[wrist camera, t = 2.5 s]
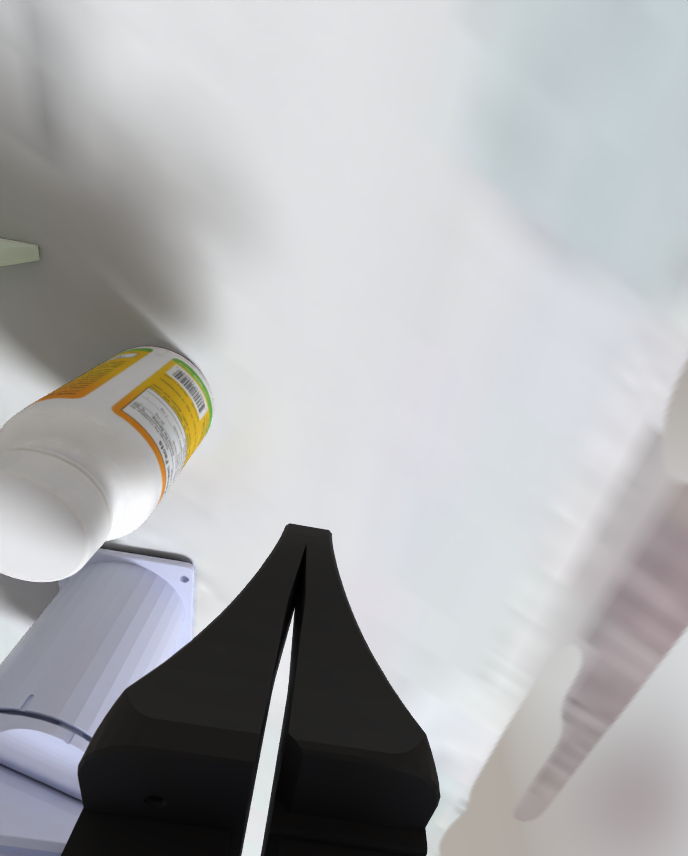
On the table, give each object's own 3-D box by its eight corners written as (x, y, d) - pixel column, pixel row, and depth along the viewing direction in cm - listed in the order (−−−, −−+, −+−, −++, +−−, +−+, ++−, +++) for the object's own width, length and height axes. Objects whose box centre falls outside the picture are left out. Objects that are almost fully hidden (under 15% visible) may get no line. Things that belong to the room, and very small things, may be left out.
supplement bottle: (97, 425, 22) (-82, 568, 13) (113, 325, 19) (-91, 417, 11) (202, 462, 22) (100, 621, 14) (229, 369, 20) (127, 491, 11)
